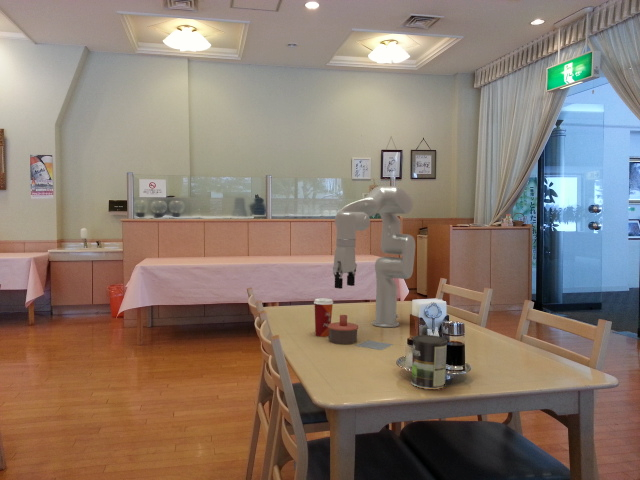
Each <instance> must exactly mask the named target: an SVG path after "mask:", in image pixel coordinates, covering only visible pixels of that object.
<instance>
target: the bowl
mask: <svg viewBox="0 0 640 480" xmlns="http://www.w3.org/2000/svg"><path fill="white" fill-rule="evenodd" d="M328 340H329V342H330V343H332V344H334V345H335V344H337V345H351V344H355V343H356V342H357V341H358V329H357V330H352V331H339V330H333V329H330V328H329V336H328Z"/></svg>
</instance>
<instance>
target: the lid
mask: <svg viewBox="0 0 640 480" xmlns="http://www.w3.org/2000/svg"><path fill="white" fill-rule="evenodd" d="M328 328H330V329H333V330H339V331H352V330H357V331H358V329H359V325H358V324H357V323H352V322H348V315H347V314H339V322H338V321H337V322H331V323H330V324H328Z"/></svg>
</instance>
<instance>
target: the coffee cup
mask: <svg viewBox="0 0 640 480" xmlns="http://www.w3.org/2000/svg"><path fill="white" fill-rule="evenodd" d="M313 304H314V327H315V329H314V330H315V336H316V337H323V338H326V337H329V328H328V324H330V323H332V315H333V304H334V301H333V299H332V298H327V297H325V298H323V297H322V298H320V297H319V298H314V301H313Z"/></svg>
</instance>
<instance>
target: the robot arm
mask: <svg viewBox="0 0 640 480" xmlns="http://www.w3.org/2000/svg"><path fill="white" fill-rule="evenodd" d="M413 206H414V203H413V198H412V197H411V196H410V194H408V193H407V192H406V191H405V190H404V189H403V188H401V187H399V186H396V185H379V186H375V187H374V188H372V189H371V190H370V191H369V192H368V193H367V195H365V196H364V197H363V198H361V199H358V200H356V201H353V202H351V203H348V204H346V205H345V206H343V207H342V208H341V209H340V210H339V211H338V212H337V213H336V214H335V216H334V225H335V226H336V238H335V239H336V243H335V244H336V245H335V249H334V255H333V256H334V258H333V267H332V270H333V271H332V272H333V277H334V289H341V290H342V289H343V279H344V278H343V275H344V274H346V273H347V275H346V286H351V287H355V285H356V284H355V280H356V277H355V276H356V271H357V266H358V264H357V263H356V249H355V248H356V239H357V238H356V237H357V235H356V234H357V231H358V232H361V231H365V230H367V229H368V228H369V227H370V224H371V218H370V217H374V216H375V215H376V214H379V216H380V218H381V222H382V228H381V229H382V230H381V237H380V250H381V252H382V253H383V254H387V255H400V256H402V257H396V256H380V257H378V258H377V259H376V261H375V262H374V271H375V278H376V279H375V280H376V282H375V283H376V284H375V285H376V289H375V291H376V292H375V319H374V320H372V321H371V325H373V326H374V327H375V326H376V327H379V328H397V327H399V326H400V322H399V321H397V318H399V314H397V307H398V306H397V302H398V301H397V299H398V287H397V283H396V281H395V279H400V280H401V279H402V280H408V279H410V278H411V277H412V275H413V273H414V265H415V253H416V241H415V238H414V236H412V235H411V234H408V233H406V234H405V233H401V228H402V223H401V219H400V218H399V217H398V216H397V215H398V214H399V215H400V214H401V215H406V214H409V213H411V211H413Z"/></svg>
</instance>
